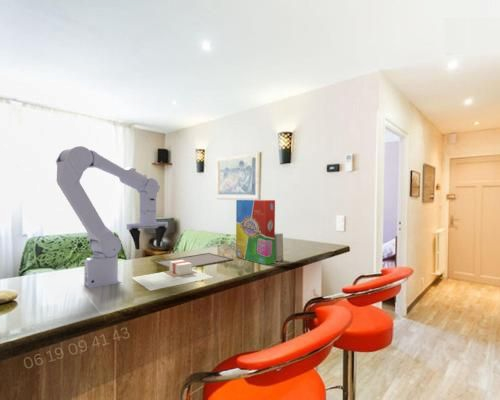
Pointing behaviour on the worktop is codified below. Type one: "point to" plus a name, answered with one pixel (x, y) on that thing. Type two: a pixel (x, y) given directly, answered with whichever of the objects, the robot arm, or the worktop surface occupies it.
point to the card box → (180, 267)
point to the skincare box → (278, 246)
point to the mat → (168, 279)
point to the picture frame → (197, 260)
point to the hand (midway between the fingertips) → (148, 247)
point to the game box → (255, 230)
